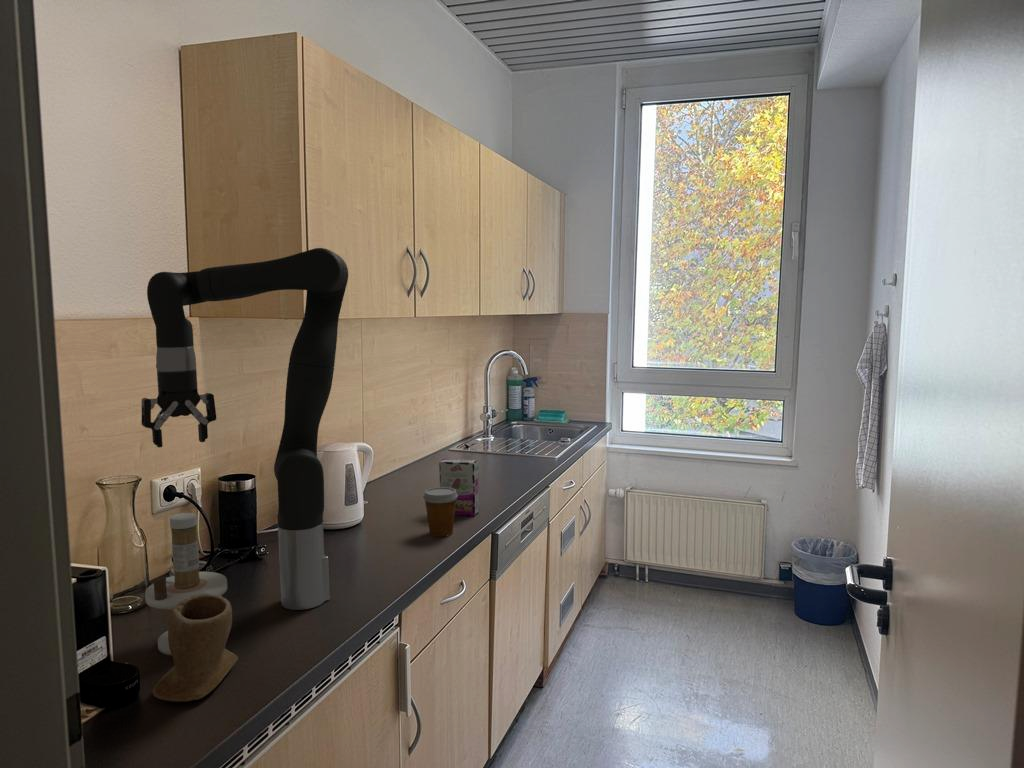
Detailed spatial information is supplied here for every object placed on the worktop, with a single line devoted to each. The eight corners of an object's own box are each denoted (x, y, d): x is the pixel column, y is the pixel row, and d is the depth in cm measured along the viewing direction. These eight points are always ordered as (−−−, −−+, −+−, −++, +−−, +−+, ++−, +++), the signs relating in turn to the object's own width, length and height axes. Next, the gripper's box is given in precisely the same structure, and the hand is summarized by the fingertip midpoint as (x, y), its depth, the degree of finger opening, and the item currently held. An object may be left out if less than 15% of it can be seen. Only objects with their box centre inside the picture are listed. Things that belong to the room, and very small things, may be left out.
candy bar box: (479, 512, 216) (479, 459, 214) (475, 516, 211) (474, 463, 209) (445, 509, 219) (444, 457, 217) (439, 514, 214) (438, 461, 212)
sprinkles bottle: (194, 578, 136) (190, 510, 135) (204, 584, 133) (200, 515, 132) (169, 585, 133) (165, 515, 132) (179, 591, 130) (175, 520, 128)
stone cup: (213, 710, 112) (208, 619, 110) (142, 706, 113) (136, 616, 111) (257, 661, 127) (253, 581, 125) (194, 658, 128) (189, 579, 126)
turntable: (187, 575, 142) (186, 551, 142) (243, 584, 137) (241, 559, 137) (127, 602, 129) (125, 576, 129) (186, 614, 124) (185, 586, 124)
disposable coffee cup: (450, 540, 190) (449, 497, 189) (418, 537, 193) (417, 494, 192) (463, 529, 199) (463, 488, 198) (433, 526, 202) (432, 485, 201)
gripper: (143, 371, 141) (149, 451, 143) (217, 367, 150) (221, 442, 152) (135, 369, 147) (140, 446, 149) (206, 365, 156) (210, 437, 158)
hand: (181, 444), depth 150 cm, fingers open, 8 cm apart
